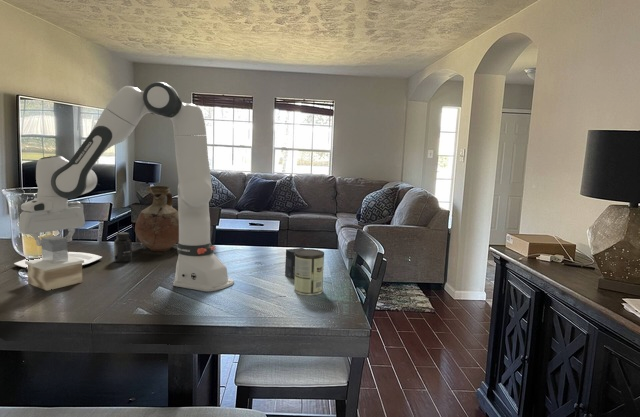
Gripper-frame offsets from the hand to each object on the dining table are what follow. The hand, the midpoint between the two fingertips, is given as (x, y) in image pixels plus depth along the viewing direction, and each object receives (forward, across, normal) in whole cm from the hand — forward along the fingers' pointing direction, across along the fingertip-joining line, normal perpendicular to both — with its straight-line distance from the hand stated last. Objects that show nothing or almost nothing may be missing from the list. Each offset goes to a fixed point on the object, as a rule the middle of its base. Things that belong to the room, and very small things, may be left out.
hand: (54, 243), depth 150 cm
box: (+15, -61, +60) cm, 87 cm away
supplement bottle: (+14, -32, -9) cm, 36 cm away
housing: (+6, 0, 0) cm, 6 cm away
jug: (+15, -56, -16) cm, 60 cm away
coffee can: (+15, -48, +74) cm, 89 cm away
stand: (+14, 0, 0) cm, 14 cm away
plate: (+15, -14, -24) cm, 31 cm away
